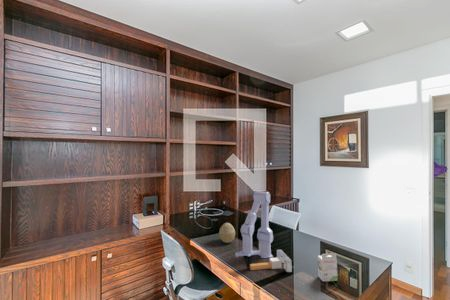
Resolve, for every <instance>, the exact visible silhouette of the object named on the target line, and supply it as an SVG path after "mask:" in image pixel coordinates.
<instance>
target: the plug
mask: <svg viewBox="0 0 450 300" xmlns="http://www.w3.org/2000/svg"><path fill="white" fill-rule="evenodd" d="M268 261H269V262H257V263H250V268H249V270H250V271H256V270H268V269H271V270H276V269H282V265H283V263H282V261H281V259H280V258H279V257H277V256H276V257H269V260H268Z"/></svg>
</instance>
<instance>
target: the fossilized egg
mask: <svg viewBox="0 0 450 300" xmlns="http://www.w3.org/2000/svg"><path fill="white" fill-rule="evenodd" d="M218 235H219V239H220V240H221V241H222V242H223V243H225V244H228V243H231V242H233V241H234V239H235V237H236V230H235V228H234V226H233V225H232V224H231V223H230V222H225V223H223V224H222V225H221V226H220V228H219V232H218Z"/></svg>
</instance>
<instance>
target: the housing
mask: <svg viewBox="0 0 450 300" xmlns="http://www.w3.org/2000/svg"><path fill="white" fill-rule="evenodd" d="M276 257H279V258H280V259H281V261H282V264H283V269H284V271H285V272H286V273H292V272H293V270H292V269H293V267H292V266H293V265H292V262H293V261H292V259H291V258H290V257H289V256H288V255H287V254H286V253H285V252H284V251H283V249H276Z"/></svg>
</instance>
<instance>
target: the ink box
mask: <svg viewBox="0 0 450 300" xmlns="http://www.w3.org/2000/svg"><path fill="white" fill-rule="evenodd" d="M317 274H318V278H319V279H320V280H321V282H337V281H338V260H337V253H335V252H332V253H322V254H321V255H317ZM338 282H339V281H338Z"/></svg>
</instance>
